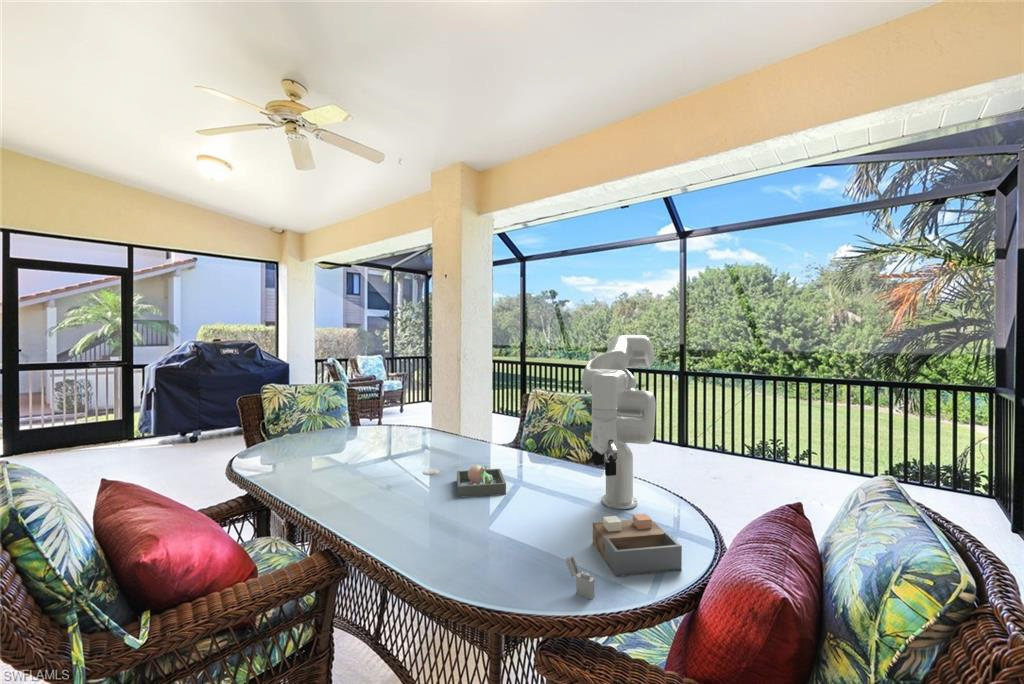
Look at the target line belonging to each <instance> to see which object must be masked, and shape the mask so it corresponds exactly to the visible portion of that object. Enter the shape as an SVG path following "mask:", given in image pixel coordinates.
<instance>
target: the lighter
mask: <svg viewBox="0 0 1024 684" xmlns="http://www.w3.org/2000/svg"><path fill="white" fill-rule="evenodd" d="M564 560H565V562H566V566H567V568H568V570H569V573H570V576H571V577H575V581H576V583H575V586H576V587H575V590H576V592H575V593H576V595H578V596H581V597H584V598H586V599H589V600H593V599H594V598H595V578H594V577H593V576H592V577H591V575H590V573H589V572H587V571H583V570H582V571H581V572H580V570H579V568H578V565H577V563H576V560H575V557H574V556H573V555H569V556H567V557H566V558H565V559H564Z"/></svg>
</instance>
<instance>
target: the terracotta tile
mask: <svg viewBox="0 0 1024 684" xmlns="http://www.w3.org/2000/svg"><path fill="white" fill-rule="evenodd" d="M632 520H633V524H634V525H635V526H636V527H637V528H638V529H646V528H652V520H653V519H652V518H651V517H650V516H649V515H648V514H647V513H638V514H637V513H635V514H632Z"/></svg>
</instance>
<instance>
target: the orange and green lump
mask: <svg viewBox="0 0 1024 684" xmlns="http://www.w3.org/2000/svg"><path fill="white" fill-rule="evenodd" d="M487 467H488V466H487V465H484V466H481V465H480V464H475V465H473V466H470V468H469V469H468V470H469V471H468V478H469V480H470V481H468V483H467V484H466V485H477V484H481V483H482V484H492V482H493V481H494V479H493V477H492V475H489V474H487V473H486V472H485V470H486V469H487Z"/></svg>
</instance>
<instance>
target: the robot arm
mask: <svg viewBox="0 0 1024 684" xmlns="http://www.w3.org/2000/svg"><path fill="white" fill-rule="evenodd" d="M655 355H656V353H655V350H654V346H653V344H652V341H651V340H650V338H649V337H647V335H643V334H619V335H616V336H613V338H612V339H611V340H610V342H609V345H608V347H607V350H606V352H604V353H602V354H600V355H598V356H596V357H593V358H592V359H590V360H589V361H588V362H587V364H586V365H585V368H584V370H583V373H582V376H581V387H582V389H583V390H584V391H585V392H588V393H591V419H592V420H591V432H590V433H591V434H590V436H591V437H590V446H591V447H592V449H593V466H603V465H604V475H605V494H603V495H602V496H601V499H600V500H601V503H602V504H603V505H604V506H606V507H608V508H611V509H616V510H629V509H633V508H635V507H637V506H638V499H637V498H636V497H634V455H633V452H632V450H631V448H630V447H629V445H628V444H636V445H649V444H651V443H652V442H653V440H654V436H655V422H656V409H657V408H656V407H657V405H656V404H657V403H656V397H655V395H654V394H653V392H651V391H649V390H642V389H641V390H639V389H637V379H636V378H635V376H634V375H633V374H632V373H631V372H630V371H629V369H627V368H651V367H652V366H653V365H654V363H655V358H656V356H655Z"/></svg>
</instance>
